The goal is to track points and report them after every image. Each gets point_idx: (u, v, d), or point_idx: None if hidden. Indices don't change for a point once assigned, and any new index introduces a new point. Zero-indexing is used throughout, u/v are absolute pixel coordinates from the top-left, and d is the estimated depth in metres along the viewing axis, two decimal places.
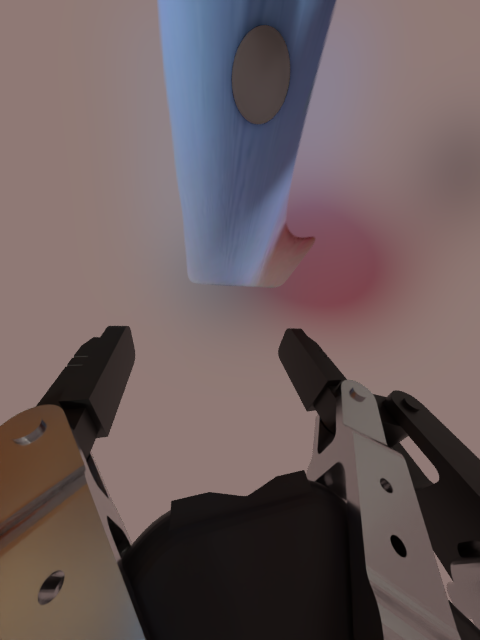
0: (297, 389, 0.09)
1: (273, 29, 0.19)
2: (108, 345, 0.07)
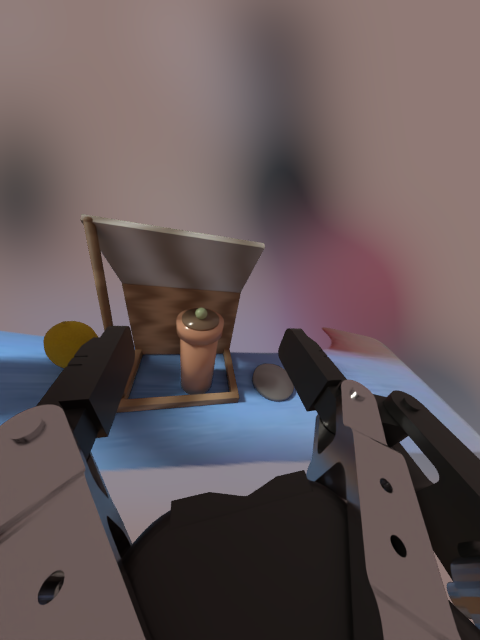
0: (297, 389, 0.09)
1: (254, 376, 0.30)
2: (108, 345, 0.07)
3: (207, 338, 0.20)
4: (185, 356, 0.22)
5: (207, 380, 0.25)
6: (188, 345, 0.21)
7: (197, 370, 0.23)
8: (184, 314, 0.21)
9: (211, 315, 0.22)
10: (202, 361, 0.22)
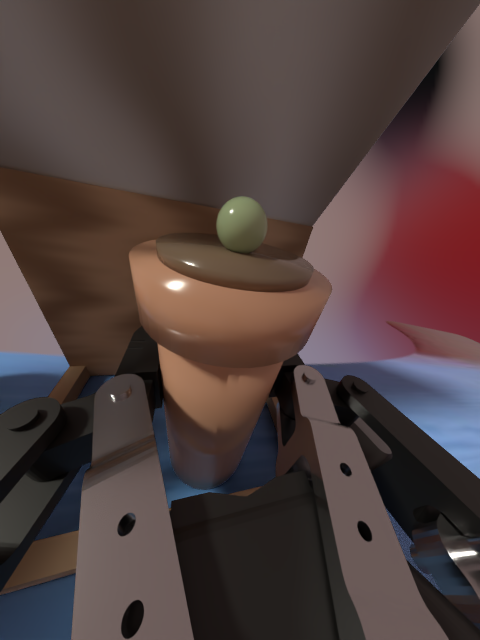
0: None
1: None
2: None
3: (288, 331, 0.04)
4: (177, 403, 0.06)
5: (242, 453, 0.09)
6: (186, 366, 0.05)
7: (220, 443, 0.07)
8: (169, 236, 0.05)
9: (272, 251, 0.06)
10: (241, 418, 0.06)
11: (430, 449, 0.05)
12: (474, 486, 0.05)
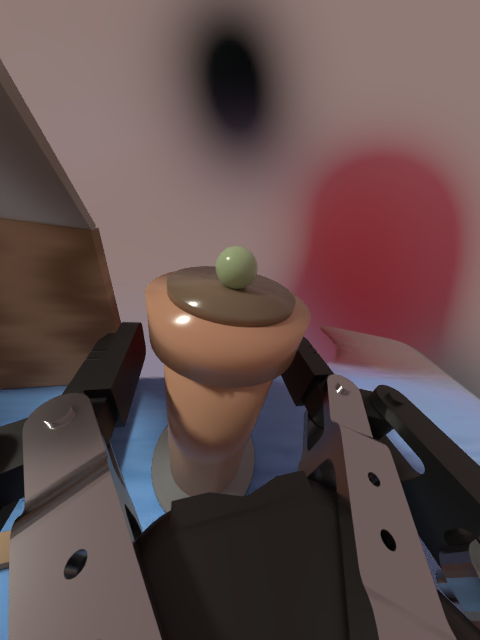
0: (287, 385, 0.09)
1: (157, 445, 0.12)
2: (124, 340, 0.07)
3: (272, 358, 0.05)
4: (180, 416, 0.07)
5: (238, 462, 0.10)
6: (190, 384, 0.06)
7: (217, 452, 0.08)
8: (176, 274, 0.06)
9: (262, 283, 0.07)
10: (236, 428, 0.07)
11: (472, 473, 0.05)
12: None
